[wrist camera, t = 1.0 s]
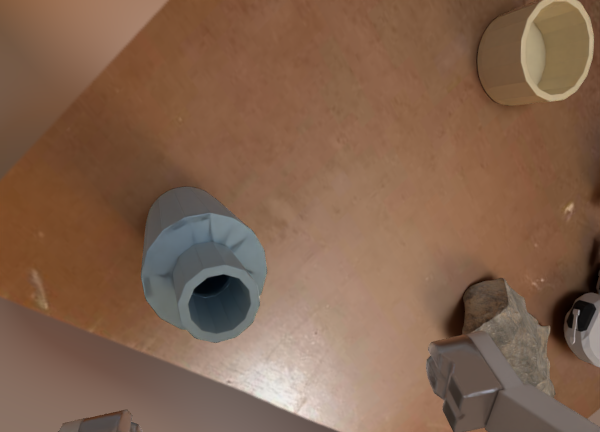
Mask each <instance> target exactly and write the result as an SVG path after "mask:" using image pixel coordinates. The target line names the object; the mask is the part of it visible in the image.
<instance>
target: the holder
mask: <svg viewBox="0 0 600 432" xmlns="http://www.w3.org/2000/svg"><path fill="white" fill-rule="evenodd" d="M593 45H594V35H593V30H592V25H591V21H590V17H589V16H588V14H587V12H586V11H585V9H584V7H583V6H582V4H581V3H580V2H579V1H577V0H536V1H534V2H531V3H529V4H526V5H523V6H521V7H518V8H515V9H513V10H510V11H509V12H507V13H504V14H502V15H500V16H498V17H497V18H496V19H494V20H493V21H492V22H491V23H490V25H489V26H488V27H487V29H486V30H485V32H484V34H483V36H482V39H481V42H480V45H479V49H478V56H477V66H478V74H479V78H480V81H481V84H482V86H483V88H484V90H485V91H486V93H487V94H488V95H489V97H490V98H491V99H493V100H494V101H495V102H497V103H499V104H502V105H506V106H513V105H522V104H532V103H541V102H550V101H560V100H564V99H566V98H567V97H569V96H570V95H571V94H573V93H574V92H576V91H577V90H578V88H579V87H580V85H581V84H582V82H583V81H584V79H585V78H586V76H587V74H588V71H589V68H590V65H591V61H592V57H593Z"/></svg>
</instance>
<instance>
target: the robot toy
mask: <svg viewBox="0 0 600 432" xmlns="http://www.w3.org/2000/svg"><path fill="white" fill-rule="evenodd" d="M598 276H599V279H598V282H597V285H596V290H597V291H598V293H599V294H600V270H599V273H598ZM599 294H595V293H587V294H584V295H582V296H581V297H579V298H578V299H576V300H575V302H574V304H573V307H572V309H571V310H570V311H569V312H568V313H567V314H566V316H565V324H564V335H565V339H566V341H567V344H568V346H569V347H570V349H571V350H572V351H573V353H574V354H575V355H576V356H577V357H578V358H579V359H581V360H583V361H585V362H588V363H590V364H592V365H595V366H598V367H600V295H599Z"/></svg>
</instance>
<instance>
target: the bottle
mask: <svg viewBox="0 0 600 432" xmlns="http://www.w3.org/2000/svg"><path fill="white" fill-rule="evenodd" d="M266 274H267V267H266V259H265V251H264V248H263V247H262V245H261V243H260V242H259V240H258V238H257V237H256V235H255V233H254V232H253V231H252V230H251V229H250V228H249V227H248V226H247V225H245V224H244V223H243V222H242V221H241V220H240V219H239V218H237V217H236V216H235V215H234V214H233V213H232V212H231V211H229V210H228V209H227V208H226V207H225V206H224V205H223V204H221V203H220V202H219V201H218V200H217V199H216V198H214V197H213V196H211V195H210V194H209V193H207V192H206V191H204V190H201V189H198V188H194V187H179V188H175V189H172V190H169V191H167V192H165V193H164V194H162V195H161V196H160V197H159V198H158V199H157V200H156V201H155V202H154V203H153V205H152V206H151V208H150V210H149V213H148V216H147V221H146V227H145V237H144V248H143V258H142V268H141V280H142V284H143V289H144V294H145V298H146V300H147V302H148V303H149V304H150V306H151V307H152V308H153V310H154V311H155V312H156V314H157V315H158V316H159V317H160V318H161V319H163V320H165V321H166V322H168V323H170V324H172V325H174V326H176V327H178V328H180V329H184V330H187V331H188V332H189V333H190V334H191V335H192V336H193V337H194V338H196V339H200V340H205V341H209V342H214V343H215V342H216V343H217V342H221V341H225V340H228V339H232V338H235V337H237V336H238V335H240V334H241V333H242V332H243V331H244V330H245V329H246V328H248V327H249V326H250V325H251V324H252V323H253V321H254V318H255V316H256V313H257V311H258V308H259V306H260V299H259V296H260V295H261V293H262V289H263V285H264V282H265V278H266Z"/></svg>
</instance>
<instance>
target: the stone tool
mask: <svg viewBox="0 0 600 432" xmlns="http://www.w3.org/2000/svg"><path fill="white" fill-rule="evenodd" d="M463 300H464V304H465V319H464V327H463V329H462V332H463V334H469V333H473V332H478V331H485V332H486V333H488V334H489V336H490V337H491V338H492V340H493V341H494V343H495V344H496V346H497V347H498V348H499V350H500V351H501V353H502V354H503V356H504V357H505V358H506V360H507V361H508V363H509V364H510V365H511V367H512V368H513V370H514V371H515V373H516V374H517V375H518V377H519V378H520V380H521V381H522V382H523V384H524V385H525V384H531V385H532V386H534V387H536V388H537V389H539V390H541V391H542V392H544V393H545V394H547V395H549V396H550V397H552V398H554V395H555V390H554V386H553V384H552V381H551V380H550V378H549V369H550V363H549V360H548V358H547V340H548V335H549V333H550V326H540V325H539V324H538V320H536V319H535V318H534V317H533V316H531V315H530V314H529V313H528V312H527V311H526V306H525V299H524V298H523V297H522V296H520V295H518V294H517V293H516V292H515V291H514V290H513V289H512V288H510V286H509V285H508V284H507V282H506V280H505V279H503V278H499V279H496V280H492V281H483V282H481V283H478V284H475V285H473V286H471V287H469V289H467V290H466V292H465V294H464V296H463Z"/></svg>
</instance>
